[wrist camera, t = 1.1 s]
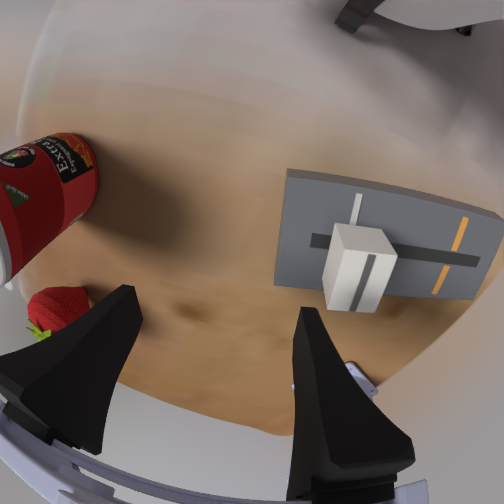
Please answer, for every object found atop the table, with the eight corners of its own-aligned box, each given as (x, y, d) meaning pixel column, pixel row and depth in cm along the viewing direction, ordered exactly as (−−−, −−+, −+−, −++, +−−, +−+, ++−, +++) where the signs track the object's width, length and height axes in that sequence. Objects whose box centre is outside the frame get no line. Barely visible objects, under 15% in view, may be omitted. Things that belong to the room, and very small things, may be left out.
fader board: (495, 212, 16) (508, 223, 14) (464, 286, 20) (473, 300, 19) (287, 168, 17) (287, 177, 16) (274, 269, 22) (273, 286, 20)
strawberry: (60, 252, 23) (1, 314, 15) (116, 290, 25) (67, 367, 16) (57, 286, 26) (10, 344, 18) (106, 320, 28) (67, 388, 19)
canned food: (111, 146, 17) (-3, 205, 8) (93, 229, 21) (14, 310, 12) (48, 119, 16) (-55, 160, 7) (38, 197, 20) (-41, 257, 11)
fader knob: (376, 222, 16) (398, 256, 13) (361, 273, 18) (374, 313, 15) (332, 215, 16) (345, 250, 13) (320, 269, 18) (327, 310, 15)
